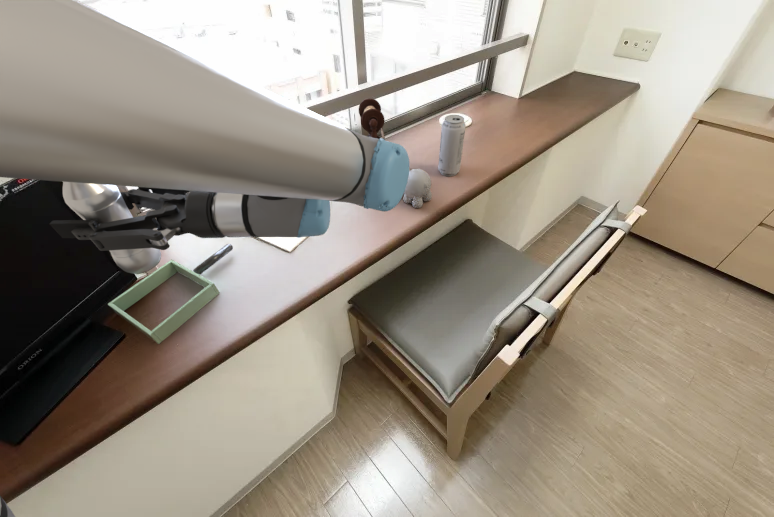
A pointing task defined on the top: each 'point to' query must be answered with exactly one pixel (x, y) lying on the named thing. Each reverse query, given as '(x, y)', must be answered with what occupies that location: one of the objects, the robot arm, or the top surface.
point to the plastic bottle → (109, 220)
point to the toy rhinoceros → (417, 188)
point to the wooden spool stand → (371, 117)
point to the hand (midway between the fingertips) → (74, 215)
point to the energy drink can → (451, 145)
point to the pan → (158, 278)
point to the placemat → (284, 242)
